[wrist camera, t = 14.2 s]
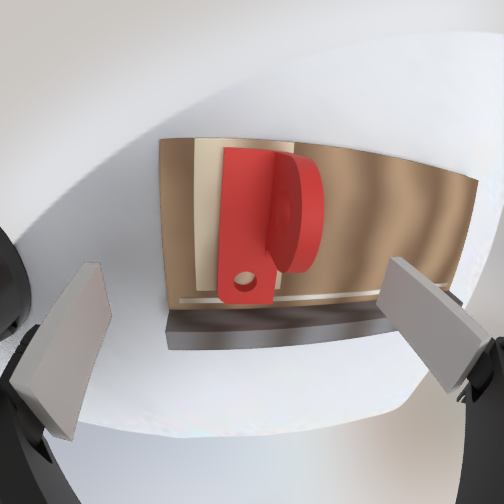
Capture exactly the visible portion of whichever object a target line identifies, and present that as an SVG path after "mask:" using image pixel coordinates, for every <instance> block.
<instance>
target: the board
mask: <svg viewBox="0 0 504 504" xmlns="http://www.w3.org/2000/svg"><path fill="white" fill-rule="evenodd" d="M224 147H235V148H250V149H262V150H273V151H283V152H289V153H293V154H297V155H300V156H304V157H308V158H310V159H312V160H313V161H314V162H315V164H316V166H317V168H318V170H319V173H320V176H321V180H322V185H323V191H324V225H323V232H322V238H321V242H320V246H319V250H318V253H317V255H316V258H315V260H314V262H313V264H312V266H311V267H310V268H309V269H308V270H307V271H306V272H304V273H281V272H279V271H278V270H277V277H276V284H275V291H274V297H273V304H226V303H224V302H222V301H221V300H220V299H219V297H218V294H217V271H218V245H219V223H220V204H221V187H222V171H223V157H224ZM159 173H160V208H161V227H162V242H163V255H164V266H165V276H166V286H167V295H168V303H169V314H168V319H167V325H166V331H165V333H166V339H167V344H168V350H230V349H253V348H269V347H282V346H294V345H304V344H313V343H322V342H330V341H338V340H345V339H352V338H359V337H365V336H371V335H377V334H382V333H388V332H393V331H398V330H397V329H396V328H395V326H394V325H393V324H392V323H391V322H390V320H389V319H388V318H387V317H386V316H385V314H384V313H383V312H382V311H381V310H380V309H379V307H378V306H377V305H376V302H377V299H378V296H379V292H380V289H381V286H382V283H383V279H384V276H385V272H386V269H387V265H388V261H389V257H402V258H403V259H404V260H406V261H407V262H408V263H409V264H411V265H412V266H413V267H414V268H416V269H417V270H418V271H419V272H421V273H422V274H423V275H424V276H426V277H427V278H428V279H429V280H430V281H432V282H433V283H434V284H435V285H436V286H438V287H439V288H440V289H441V290H442V291H443V292H445V293H446V294H447V295H448V296H449V297H450V298H451V299H453V300H454V301H455V302H456V303H457V304H458V305H459V306H460V307H462V305H463V302H461V301H460V300H459V299H458V298H457V297H456V296H455V295H453V294H452V293H451V292H450V291H449V289H450V286H451V283H452V281H453V278H454V275H455V272H456V269H457V266H458V263H459V260H460V257H461V254H462V250H463V247H464V243H465V240H466V236H467V232H468V229H469V225H470V220H471V216H472V212H473V207H474V202H475V197H476V192H477V186H478V180H476V179H473V178H470V177H467V176H464V175H460V174H457V173H454V172H450V171H447V170H443V169H440V168H436V167H432V166H429V165H425V164H421V163H417V162H412V161H408V160H404V159H399V158H395V157H390V156H385V155H380V154H375V153H369V152H364V151H358V150H352V149H345V148H339V147H332V146H324V145H316V144H307V143H298V142H287V141H275V140H260V139H239V138H171V139H160V143H159ZM254 277H255V275H254V274H253V273H251V272H242V273H239V274H238V275H237V276H236V277H235V279H234V281H235V282H236V283H238V284H241V285H245V284H249V283H250V282H252V281H253V279H254Z"/></svg>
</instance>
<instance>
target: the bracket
mask: <svg viewBox="0 0 504 504" xmlns="http://www.w3.org/2000/svg"><path fill="white" fill-rule="evenodd" d="M323 225H324V191H323V185H322V180H321V176H320V173H319V170H318V168H317V166H316V164H315V162H314V161H313V160H312V159H310V158H308V157H304V156H300V155H297V154H293V153H289V152H283V151H273V150H262V149H250V148H235V147H224V157H223V171H222V187H221V204H220V223H219V245H218V271H217V294H218V297H219V299H220V300H221V301H222V302H224V303H226V304H273V297H274V291H275V284H276V277H277V270H278V271H279V272H281V273H304V272H306V271H307V270H308V269H309V268H310V267H311V266H312V264H313V262H314V260H315V258H316V255H317V253H318V250H319V246H320V242H321V238H322V232H323ZM242 272H251V273H253V274H254V275H255V277H254V279H253V281H252V282H250V283H249V284H245V285H241V284H238V283H236V282H235V281H234V279H235V277H236V276H237V275H238V274H239V273H242Z"/></svg>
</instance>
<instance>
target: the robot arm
mask: <svg viewBox="0 0 504 504" xmlns="http://www.w3.org/2000/svg"><path fill="white" fill-rule="evenodd" d="M376 305H377V306H378V307H379V309H380V310H381V311H382V312H383V313H384V314H385V316H386V317H387V318H388V319H389V320H390V322H391V323H392V324H393V325H394V326H395V328H396V329H397V330H398V331H399V332H400V334H401V335H402V336H403V337H404V338H405V340H406V341H407V342H408V343H409V345H410V346H411V347H412V348H413V350H414V351H415V352H416V353H417V355H418V356H419V357H420V358H421V360H422V361H423V362H424V364H425V365H426V366H427V367H428V369H429V370H430V371H431V373H432V374H433V375H434V377H435V378H436V379H437V381H438V382H439V383H440V385H441V386H442V387H443V389H444V390H445V391H446V393H447V394H449V393H451V392H453V391H455V390H457V389H458V388H459V387H460V386H461V385H462V383H463V382H464V380H465V379H466V378H467V379H468V380H469V383H468V384H467V385H466V387H465V388H464V390H463V391H462V392H461V393H460V395H459V396H458V397H457V402H459V400H460V399H461V398H462V397H463V396H464V395H466V396H465V397H464V398H463V400H462V401H461V402H462V403H466V424H465V425H466V426H465V442H464V454H463V463H462V470H461V478H460V483H459V489H458V494H457V499H456V503H455V504H504V337H498V338H497V339H496V340H494V339H493V338H492V336H491V335H490V334H489V333H488V332H487V331H486V330H485V329H484V328H483V327H482V326H480V324H479V323H478V322H476V320H475V319H473V318H472V317H471V316H470V315H469V314H468V313H467V312H466V311H465V310H464V309H463V308H462V307H460V306H459V305H458V304H457V303H456V302H455V301H454V300H453V299H451V298H450V297H449V296H448V295H447V294H446V293H445V292H443V291H442V290H441V289H440V288H439V287H438V286H436V285H435V284H434V283H433V282H432V281H430V280H429V279H428V278H427V277H426V276H424V275H423V274H422V273H421V272H419V271H418V270H417V269H416V268H414V267H413V266H412V265H411V264H409V263H408V262H407V261H406V260H404V259H403V258H402V257H389V261H388V265H387V269H386V272H385V276H384V279H383V283H382V286H381V289H380V292H379V296H378V299H377V302H376ZM30 306H31V294H30V287H29V283H28V279H27V275H26V272H25V269H24V266H23V264H22V262H21V259H20V257H19V255H18V253H17V251H16V249H15V247H14V246H13V244H12V242H11V241H10V239H9V238H8V236H7V235H6V233H5V232H4V231H3V230H2V228H1V227H0V342H1V341H3V340H4V339H6V338H8V337H9V336H11V335H13V334H14V333H15V332H16V331H17V330H18V329H19V328H20V327H21V325H22V324H23V323H24V321H25V320H26V318H27V317H28V315H29V312H30ZM111 318H112V313H111V310H110V306H109V302H108V298H107V294H106V289H105V285H104V280H103V275H102V271H101V266H100V263H84V264H83V265H82V266H81V268H80V269H79V270H78V272H77V273H76V274H75V276H74V277H73V278H72V280H71V281H70V282H69V284H68V285H67V287H66V288H65V289H64V291H63V292H62V294H61V295H60V296H59V298H58V299H57V301H56V302H55V304H54V305H53V307H52V308H51V310H50V311H49V313H48V314H47V316H46V317H45V319H44V320H43V322H42V324H41V325H37V324H36V325H35V326H33V327H32V328H31V329H30V330H29V331H28V332H26V334H25V335H24V337H23V339H22V340H21V342H20V345H18V347H17V349H16V350H15V353H14V354H13V355H12V357H11V359H10V361H9V362H8V364H7V366H6V368H5V370H4V372H3V373H2V375H1V377H0V504H81V502H80V501H79V500H78V498H77V496H76V494H75V493H74V492H73V490H72V488H71V486H70V485H69V483H68V481H67V480H66V478H65V476H64V474H63V472H62V471H61V469H60V467H59V465H58V463H57V461H56V459H55V457H54V455H53V453H52V451H51V449H50V447H49V445H48V442H47V441H46V439H45V438H44V436H43V431H44V428H46V429H47V430H48V431H49V432H50V434H51V435H52V436H53V437H57V438H60V439H64V440H68V441H73V436H74V432H75V429H76V425H77V421H78V417H79V413H80V409H81V406H82V402H83V399H84V395H85V392H86V389H87V385H88V382H89V379H90V376H91V373H92V370H93V367H94V364H95V361H96V358H97V355H98V352H99V350H100V347H101V344H102V341H103V339H104V336H105V333H106V331H107V328H108V326H109V323H110V321H111Z"/></svg>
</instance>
